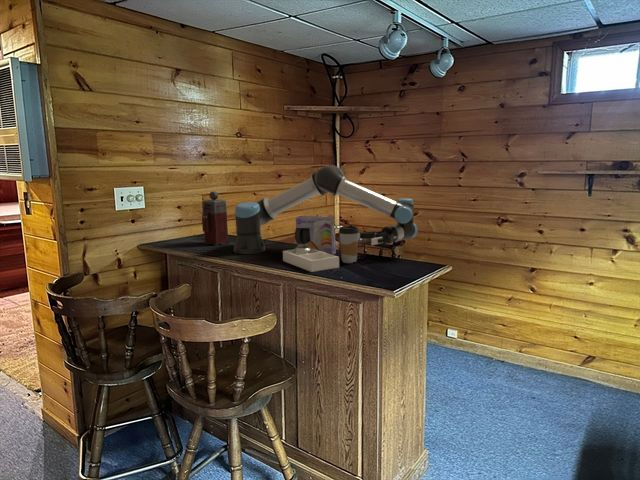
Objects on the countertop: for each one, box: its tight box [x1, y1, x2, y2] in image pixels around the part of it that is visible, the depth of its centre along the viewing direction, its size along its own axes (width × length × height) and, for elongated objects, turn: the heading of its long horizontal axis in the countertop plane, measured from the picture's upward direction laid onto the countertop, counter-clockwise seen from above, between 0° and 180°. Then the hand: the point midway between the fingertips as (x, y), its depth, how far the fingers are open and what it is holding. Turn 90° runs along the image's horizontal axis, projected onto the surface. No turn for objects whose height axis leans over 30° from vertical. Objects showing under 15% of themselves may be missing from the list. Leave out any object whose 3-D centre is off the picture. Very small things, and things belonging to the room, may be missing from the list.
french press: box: [201, 190, 229, 245], centre depth 253 cm, size 9×11×28 cm
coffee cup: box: [338, 225, 359, 264], centre depth 205 cm, size 8×8×15 cm
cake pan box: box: [294, 215, 337, 255], centre depth 223 cm, size 19×5×18 cm, turn 65°
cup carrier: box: [282, 248, 340, 273], centre depth 203 cm, size 25×13×4 cm, turn 31°
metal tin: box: [294, 247, 311, 255], centre depth 208 cm, size 7×7×5 cm
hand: (360, 240), depth 209 cm, fingers open, 13 cm apart
